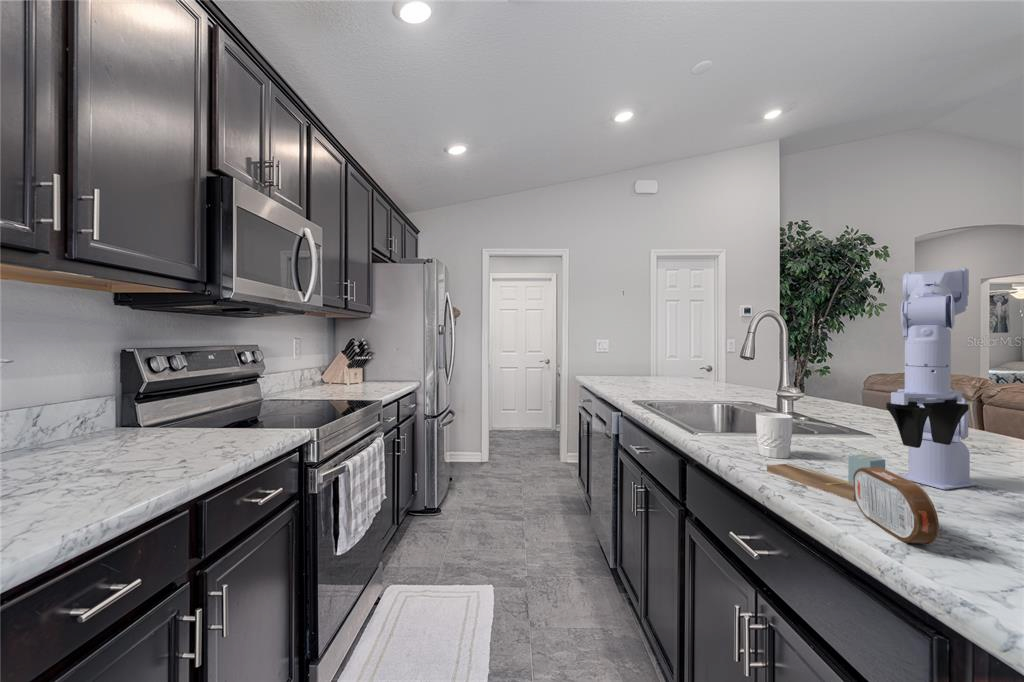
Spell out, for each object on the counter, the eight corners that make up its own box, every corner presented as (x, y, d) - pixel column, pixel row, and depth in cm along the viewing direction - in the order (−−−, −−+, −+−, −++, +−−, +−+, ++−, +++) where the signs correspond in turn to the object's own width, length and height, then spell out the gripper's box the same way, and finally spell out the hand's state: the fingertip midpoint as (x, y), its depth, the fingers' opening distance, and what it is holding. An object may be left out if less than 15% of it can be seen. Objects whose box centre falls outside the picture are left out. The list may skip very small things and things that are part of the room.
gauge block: (862, 481, 86) (863, 454, 86) (885, 488, 82) (885, 459, 82) (848, 483, 85) (848, 455, 85) (870, 490, 81) (870, 460, 81)
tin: (941, 555, 56) (941, 492, 56) (913, 553, 57) (913, 490, 57) (870, 511, 71) (870, 460, 71) (848, 509, 72) (849, 459, 72)
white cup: (763, 458, 103) (763, 417, 103) (750, 450, 111) (750, 411, 111) (799, 460, 101) (799, 418, 101) (783, 451, 109) (783, 412, 109)
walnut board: (788, 468, 94) (788, 463, 94) (878, 497, 77) (878, 490, 77) (766, 471, 93) (766, 465, 93) (853, 500, 75) (853, 493, 75)
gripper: (927, 364, 79) (927, 437, 79) (871, 365, 75) (871, 442, 75) (977, 366, 73) (977, 446, 73) (919, 367, 69) (919, 452, 69)
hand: (926, 445), depth 74 cm, fingers open, 7 cm apart
